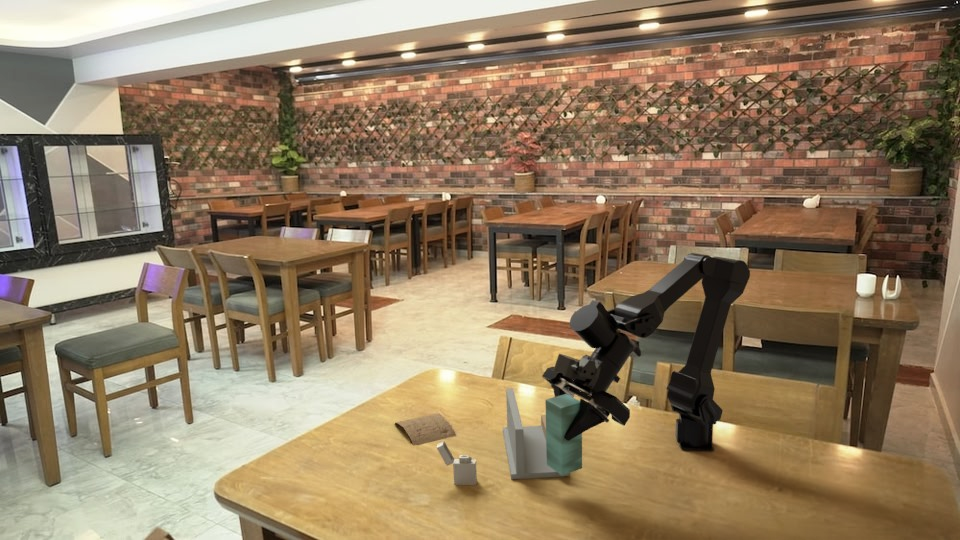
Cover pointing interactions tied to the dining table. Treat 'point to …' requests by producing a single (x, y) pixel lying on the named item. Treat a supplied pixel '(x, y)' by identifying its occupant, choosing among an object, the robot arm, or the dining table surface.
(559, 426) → the teal block
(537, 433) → the grey bookend
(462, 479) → the lighter
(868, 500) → the dining table surface
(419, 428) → the curved bark piece
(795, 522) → the dining table surface
